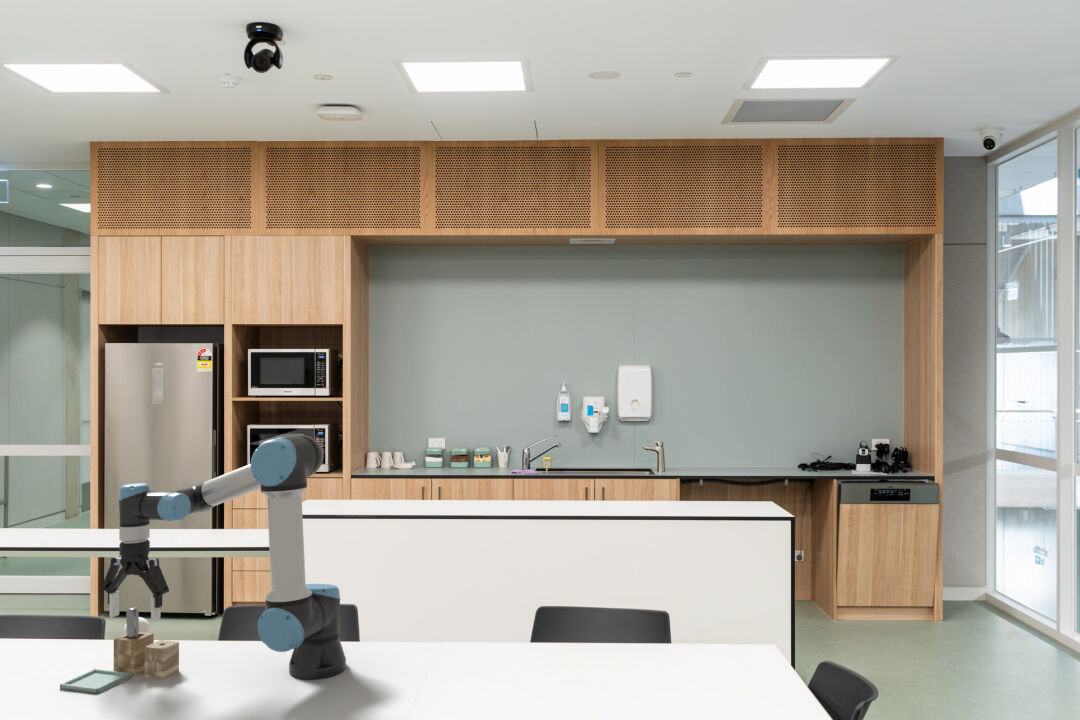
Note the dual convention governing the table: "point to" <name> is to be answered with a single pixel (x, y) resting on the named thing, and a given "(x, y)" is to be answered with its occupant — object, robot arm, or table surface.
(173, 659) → the narrow-bore block
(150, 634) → the wide-bore block
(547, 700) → the table surface
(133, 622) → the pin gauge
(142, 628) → the light bulb
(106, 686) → the tray
